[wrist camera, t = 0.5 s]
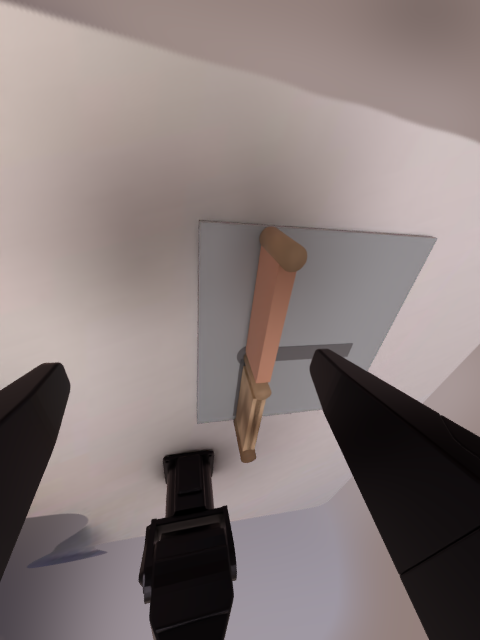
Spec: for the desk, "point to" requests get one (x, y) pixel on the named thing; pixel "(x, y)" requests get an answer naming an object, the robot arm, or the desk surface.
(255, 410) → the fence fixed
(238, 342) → the card
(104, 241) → the desk surface
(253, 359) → the fence panel
